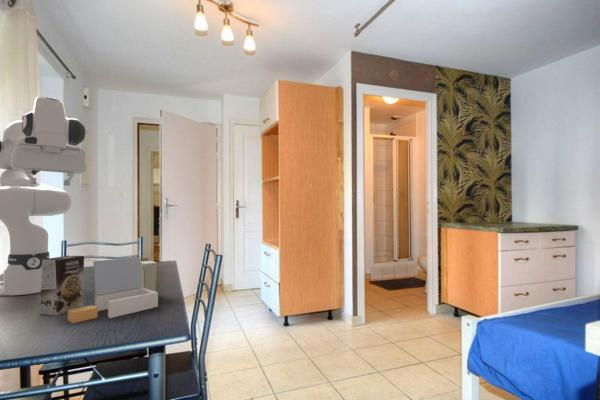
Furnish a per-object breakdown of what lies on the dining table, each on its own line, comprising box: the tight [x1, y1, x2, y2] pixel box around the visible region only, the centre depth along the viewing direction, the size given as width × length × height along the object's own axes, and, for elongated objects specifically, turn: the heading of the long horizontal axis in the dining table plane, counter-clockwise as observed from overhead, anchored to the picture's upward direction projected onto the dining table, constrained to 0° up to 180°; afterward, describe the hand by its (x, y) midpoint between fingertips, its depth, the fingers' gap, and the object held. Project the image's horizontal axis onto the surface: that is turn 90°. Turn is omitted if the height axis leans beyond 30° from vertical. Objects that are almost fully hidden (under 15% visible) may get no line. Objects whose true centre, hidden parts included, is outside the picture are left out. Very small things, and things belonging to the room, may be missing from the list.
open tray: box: [94, 287, 159, 319], centre depth 102 cm, size 11×14×4 cm
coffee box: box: [39, 255, 85, 316], centre depth 100 cm, size 9×6×16 cm
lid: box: [92, 256, 142, 297], centre depth 106 cm, size 10×14×1 cm
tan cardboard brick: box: [67, 304, 99, 324], centre depth 93 cm, size 4×6×3 cm, turn 142°
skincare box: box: [140, 260, 158, 292], centre depth 116 cm, size 6×4×12 cm
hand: (50, 184), depth 110 cm, fingers open, 8 cm apart
